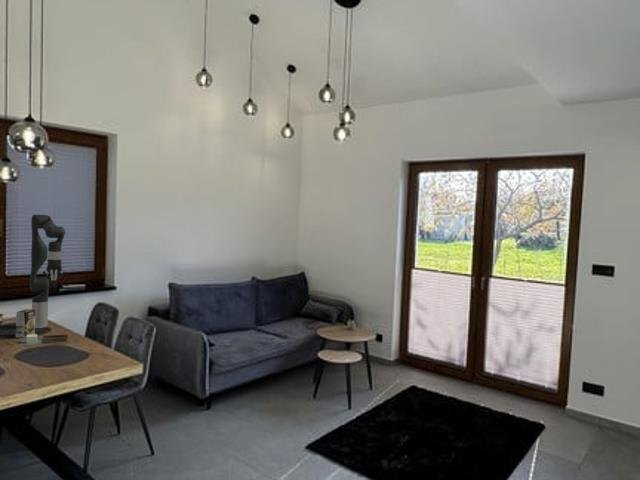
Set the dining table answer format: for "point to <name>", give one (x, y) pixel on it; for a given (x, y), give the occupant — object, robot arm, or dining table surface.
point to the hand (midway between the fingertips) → (53, 286)
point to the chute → (54, 339)
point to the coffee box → (25, 323)
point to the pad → (24, 342)
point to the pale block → (32, 338)
